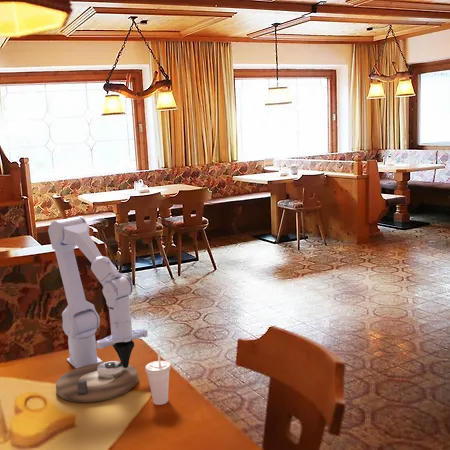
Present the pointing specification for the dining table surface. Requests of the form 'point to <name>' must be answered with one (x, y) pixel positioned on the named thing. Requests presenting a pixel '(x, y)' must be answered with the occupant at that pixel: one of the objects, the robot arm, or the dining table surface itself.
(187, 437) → the dining table surface
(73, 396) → the turntable
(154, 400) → the smoothie
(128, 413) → the dining table surface
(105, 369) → the cover
